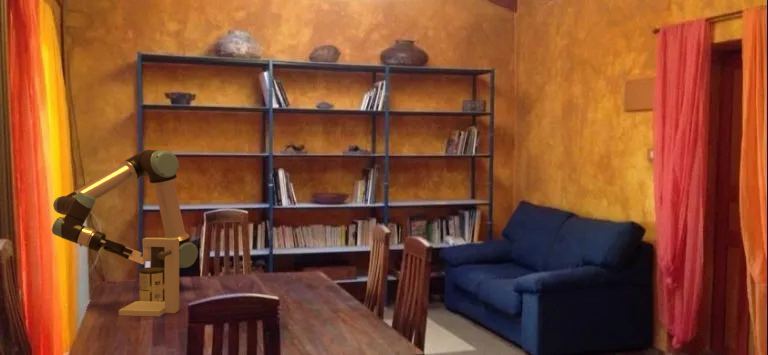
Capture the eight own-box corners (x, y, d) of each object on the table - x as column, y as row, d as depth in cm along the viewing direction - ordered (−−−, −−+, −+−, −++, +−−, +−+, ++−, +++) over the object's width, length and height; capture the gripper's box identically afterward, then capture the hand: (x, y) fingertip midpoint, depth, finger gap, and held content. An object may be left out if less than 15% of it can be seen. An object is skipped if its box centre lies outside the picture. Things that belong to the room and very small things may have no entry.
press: (135, 305, 285) (135, 235, 284) (183, 307, 284) (183, 236, 283) (114, 317, 265) (113, 241, 264) (165, 319, 264) (165, 242, 263)
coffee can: (149, 298, 298) (149, 266, 298) (170, 300, 295) (169, 267, 295) (133, 304, 289) (133, 270, 288) (154, 306, 285) (154, 271, 285)
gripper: (93, 253, 290) (142, 272, 292) (81, 242, 266) (134, 262, 268) (102, 236, 292) (150, 255, 294) (90, 224, 269) (142, 244, 271)
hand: (142, 259), depth 281 cm, fingers open, 13 cm apart
